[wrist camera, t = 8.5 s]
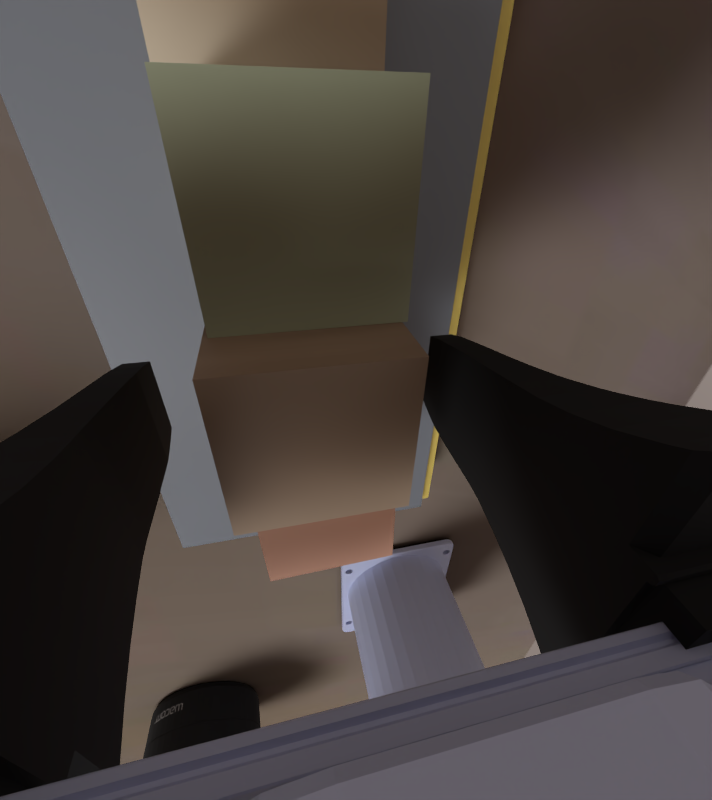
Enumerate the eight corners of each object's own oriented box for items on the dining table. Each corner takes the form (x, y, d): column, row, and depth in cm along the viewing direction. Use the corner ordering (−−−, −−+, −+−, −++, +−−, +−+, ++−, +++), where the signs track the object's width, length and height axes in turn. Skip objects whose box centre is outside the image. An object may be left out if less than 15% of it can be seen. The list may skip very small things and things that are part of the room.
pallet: (358, 487, 19) (404, 639, 13) (253, 504, 18) (254, 675, 12) (371, -76, 9) (596, -446, 3) (126, -104, 8) (-202, -715, 2)
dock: (415, 471, 23) (431, 504, 21) (189, 507, 21) (183, 548, 19) (497, -121, 10) (557, -181, 8) (-59, -202, 8) (-162, -311, 6)
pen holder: (261, 668, 33) (265, 842, 25) (263, 711, 38) (267, 867, 30) (138, 691, 31) (98, 892, 23) (158, 734, 36) (131, 909, 28)
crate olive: (363, 266, 11) (407, 321, 8) (220, 274, 11) (207, 338, 7) (367, 91, 9) (430, 72, 6) (185, 86, 8) (143, 61, 5)
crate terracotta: (364, 470, 16) (392, 555, 13) (266, 487, 15) (270, 581, 12) (363, 390, 14) (397, 469, 11) (248, 405, 13) (247, 495, 10)
